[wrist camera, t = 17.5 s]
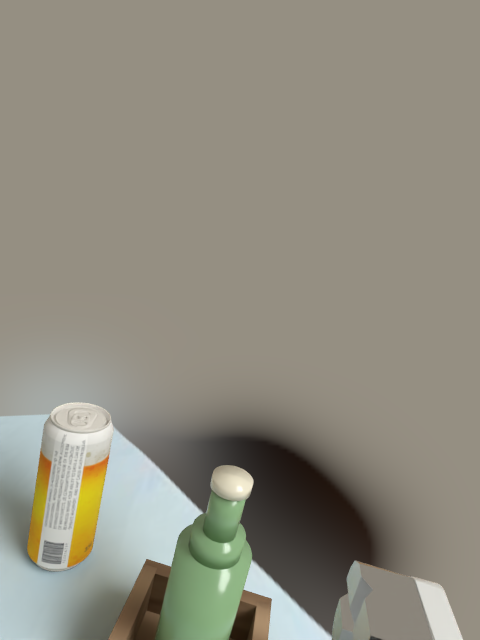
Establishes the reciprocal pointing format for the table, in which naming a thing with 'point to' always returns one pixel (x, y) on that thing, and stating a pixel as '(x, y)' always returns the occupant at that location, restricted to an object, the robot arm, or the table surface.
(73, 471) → the beer can
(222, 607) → the bottle
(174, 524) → the table surface
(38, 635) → the table surface
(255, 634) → the tray
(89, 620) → the table surface
